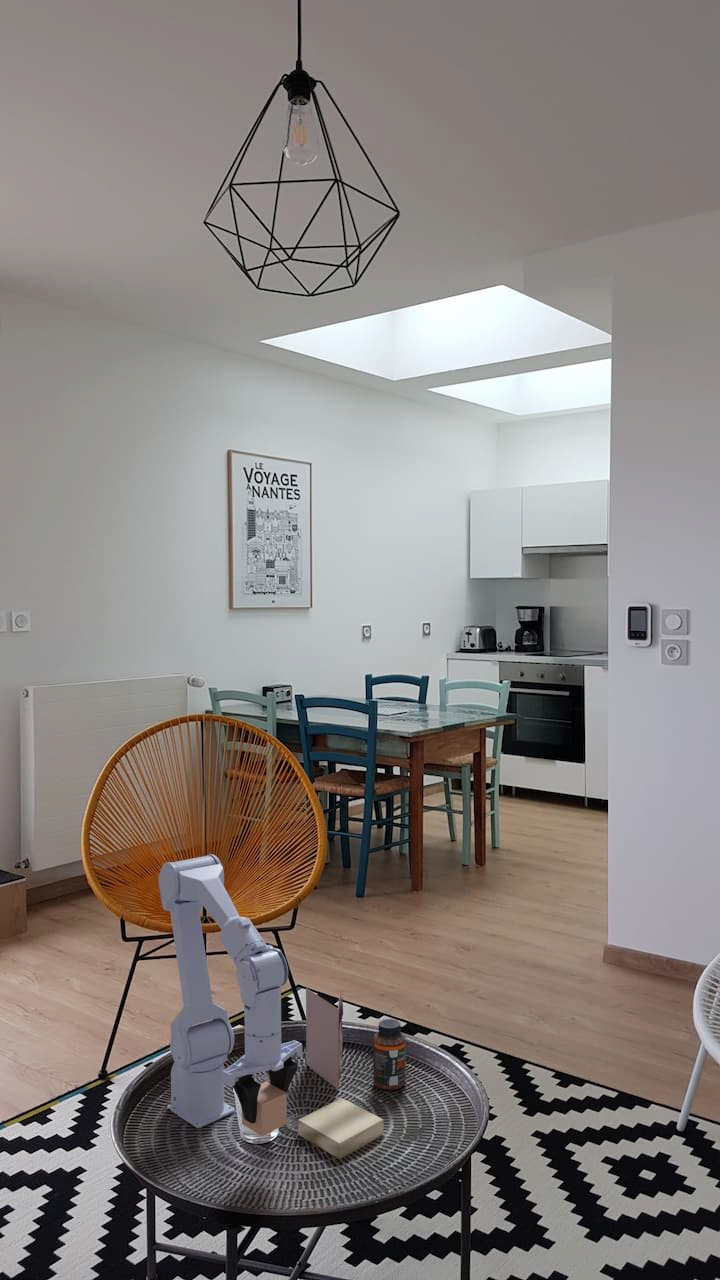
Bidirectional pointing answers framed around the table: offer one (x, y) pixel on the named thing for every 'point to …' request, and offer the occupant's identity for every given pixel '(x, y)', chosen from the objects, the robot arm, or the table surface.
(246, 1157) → the table surface
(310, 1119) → the birch block
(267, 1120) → the terracotta cube
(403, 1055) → the supplement bottle
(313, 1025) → the greeting card
